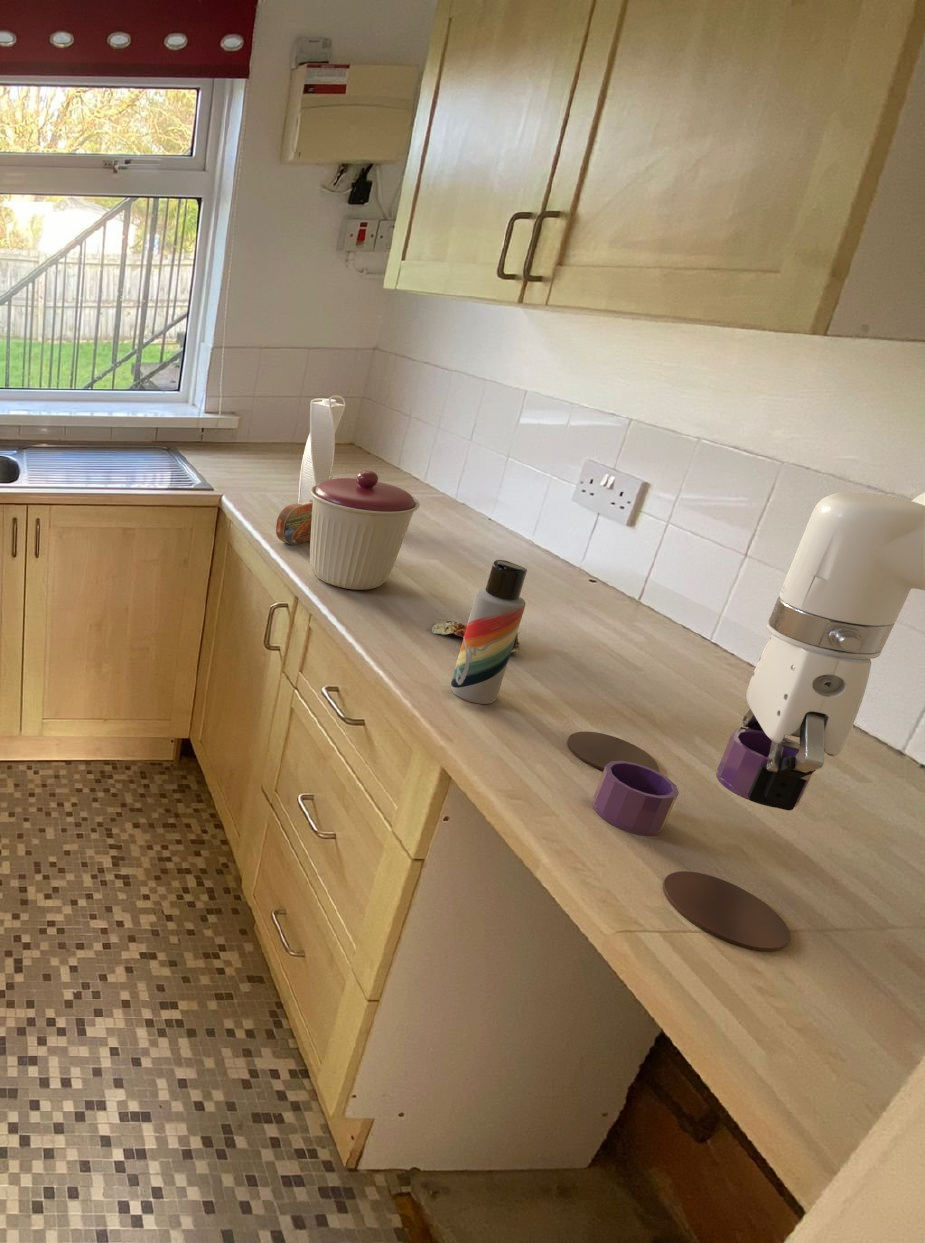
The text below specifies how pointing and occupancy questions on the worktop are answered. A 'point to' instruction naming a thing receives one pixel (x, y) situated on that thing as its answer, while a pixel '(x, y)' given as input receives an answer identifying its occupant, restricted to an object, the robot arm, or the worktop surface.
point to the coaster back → (607, 750)
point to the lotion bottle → (490, 634)
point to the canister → (358, 530)
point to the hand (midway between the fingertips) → (758, 782)
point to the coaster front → (726, 911)
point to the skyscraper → (320, 445)
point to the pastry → (460, 631)
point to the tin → (295, 523)
